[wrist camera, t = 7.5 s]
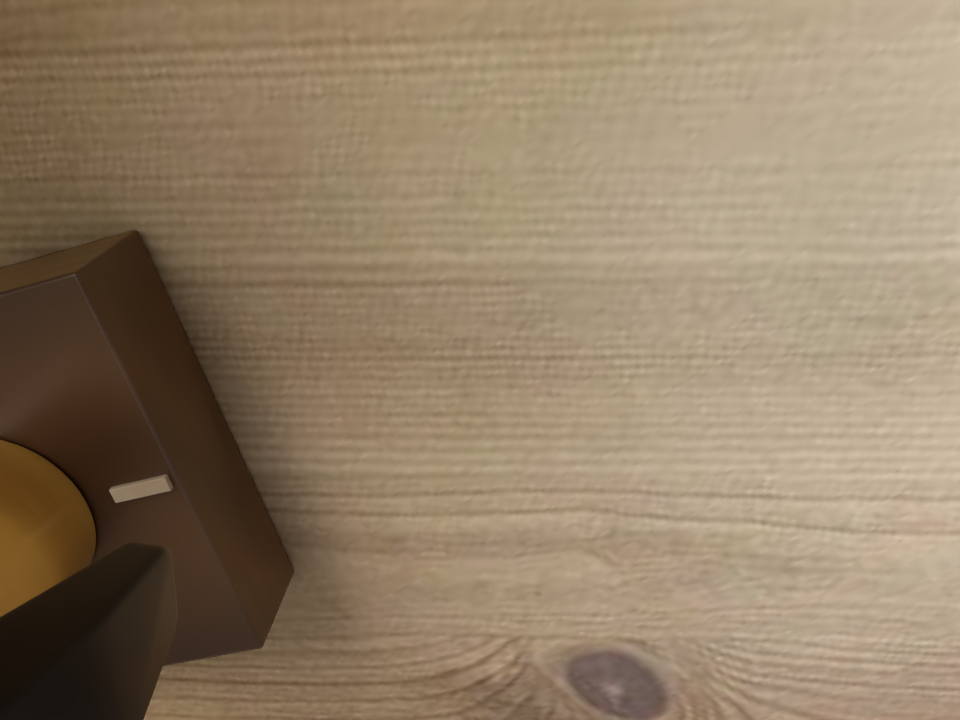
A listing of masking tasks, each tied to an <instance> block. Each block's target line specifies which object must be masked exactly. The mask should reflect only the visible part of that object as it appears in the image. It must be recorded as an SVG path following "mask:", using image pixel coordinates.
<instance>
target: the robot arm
mask: <svg viewBox="0 0 960 720" xmlns="http://www.w3.org/2000/svg"><path fill="white" fill-rule="evenodd" d="M177 616H178V607H177V597H176V586H175V576H174V565H173V557H172V554H171V552H170V550H169V549H167V548H166V547H165V546H159V545H150V544H141V543H128V544H125V545H123V546H121V547H119V548H118V549H116V550H114V551H113V552H111V553H109V554H107V555H106V556H104V557H102V558H101V559H99V560H97V561H95V562H94V563H92V564H90V565H89V566H87V567H85V568H83V569H82V570H80V571H78V572H77V573H75V574H73V575H71V576H70V577H68V578H66V579H65V580H63V581H61V582H59V583H58V584H56V585H54V586H53V587H51V588H49V589H47V590H46V591H44V592H42V593H41V594H39V595H37V596H35V597H34V598H32V599H30V600H29V601H27V602H25V603H23V604H22V605H20V606H18V607H17V608H15V609H13V610H11V611H10V612H8V613H6V614H5V615H3V616H1V617H0V720H143V719H144V716H145V714H146V711H147V708H148V705H149V703H150V700H151V697H152V694H153V692H154V689H155V686H156V683H157V680H158V678H159V675H160V672H161V669H162V667H163V664H164V661H165V658H166V656H167V653H168V650H169V647H170V644H171V642H172V639H173V636H174V633H175V629H176V624H177Z"/></svg>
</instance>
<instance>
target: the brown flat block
mask: <svg viewBox="0 0 960 720" xmlns="http://www.w3.org/2000/svg"><path fill="white" fill-rule="evenodd" d="M0 440H4V441H7V442H10V443H14V444H17V445H19V446H22V447H24V448H26V449H29V450H31V451H33V452H34V453H36V454H38V455H40V456H42V457H43V458H45V459H46V460H48V461H49V462H51V463H52V464H53V465H55V466H56V467H57V468H58V469H59V470H61V471H62V472H63V473H64V474H65V475H66V476H67V477H68V478H69V479H70V480H71V481H72V482H73V484H74V485H75V486H76V487H77V489H78V490H79V491H80V493H81V494H82V496H83V498H84V499H85V501H86V503H87V505H88V507H89V509H90V511H91V514H92V517H93V521H94V525H95V531H96V546H95V552H94V556H93V559H92V562H91V564H92V563H94V562H95V561H97V560H99V559H101V558H102V557H104V556H106V555H107V554H109V553H111V552H113V551H114V550H116V549H118V548H119V547H121V546H123V545H125V544H128V543H141V544H150V545H159V546H165V547H166V548H167V549H169V550H170V552H171V554H172V557H173V565H174V576H175V586H176V597H177V607H178V616H177V624H176V629H175V633H174V636H173V639H172V642H171V644H170V647H169V650H168V653H167V656H166V658H165V661H164V664H163V666H167V665H172V664H178V663H183V662H188V661H194V660H199V659H205V658H210V657H216V656H221V655H227V654H232V653H237V652H243V651H248V650H254V649H259V648H262V647H263V645H264V643H265V640H266V638H267V636H268V633H269V631H270V628H271V626H272V624H273V621H274V619H275V616H276V614H277V611H278V609H279V607H280V604H281V602H282V599H283V597H284V595H285V592H286V590H287V587H288V585H289V582H290V580H291V578H292V575H293V573H294V571H293V568H292V566H291V563H290V561H289V559H288V557H287V555H286V553H285V550H284V548H283V546H282V544H281V542H280V539H279V537H278V535H277V533H276V531H275V529H274V526H273V524H272V522H271V520H270V518H269V516H268V513H267V511H266V509H265V507H264V505H263V502H262V500H261V498H260V496H259V494H258V492H257V489H256V487H255V485H254V483H253V481H252V478H251V476H250V474H249V472H248V470H247V468H246V465H245V463H244V461H243V459H242V457H241V455H240V452H239V450H238V448H237V446H236V444H235V441H234V439H233V437H232V435H231V433H230V431H229V428H228V426H227V424H226V422H225V420H224V418H223V415H222V413H221V411H220V409H219V407H218V404H217V402H216V400H215V398H214V396H213V394H212V391H211V389H210V387H209V385H208V383H207V381H206V378H205V376H204V374H203V372H202V370H201V367H200V365H199V363H198V361H197V359H196V357H195V354H194V352H193V350H192V348H191V346H190V344H189V341H188V339H187V337H186V335H185V333H184V330H183V328H182V326H181V324H180V322H179V320H178V317H177V315H176V313H175V311H174V309H173V306H172V304H171V302H170V300H169V298H168V296H167V293H166V291H165V289H164V287H163V285H162V283H161V280H160V278H159V276H158V274H157V272H156V269H155V267H154V265H153V263H152V261H151V259H150V256H149V254H148V252H147V250H146V248H145V246H144V243H143V241H142V239H141V237H140V235H139V232H138V231H135V230H133V231H129V232H126V233H122V234H119V235H115V236H112V237H108V238H105V239H101V240H98V241H94V242H91V243H87V244H84V245H80V246H77V247H73V248H70V249H66V250H63V251H59V252H56V253H52V254H49V255H45V256H42V257H38V258H35V259H31V260H28V261H24V262H21V263H17V264H14V265H10V266H7V267H4V268H0Z"/></svg>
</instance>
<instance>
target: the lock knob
mask: <svg viewBox="0 0 960 720" xmlns="http://www.w3.org/2000/svg"><path fill="white" fill-rule="evenodd" d="M95 546H96V531H95V525H94V521H93V517H92V514H91V511H90V509H89V507H88V505H87V503H86V501H85V499H84V498H83V496H82V494H81V493H80V491H79V490H78V489H77V487H76V486H75V485H74V484H73V482H72V481H71V480H70V479H69V478H68V477H67V476H66V475H65V474H64V473H63V472H62V471H61V470H59V469H58V468H57V467H56V466H55V465H53V464H52V463H51V462H49V461H48V460H46V459H45V458H43V457H42V456H40V455H38V454H36V453H34V452H33V451H31V450H29V449H26V448H24V447H22V446H19V445H17V444H14V443H10V442H7V441H4V440H0V617H1V616H3V615H5V614H6V613H8V612H10V611H11V610H13V609H15V608H17V607H18V606H20V605H22V604H23V603H25V602H27V601H29V600H30V599H32V598H34V597H35V596H37V595H39V594H41V593H42V592H44V591H46V590H47V589H49V588H51V587H53V586H54V585H56V584H58V583H59V582H61V581H63V580H65V579H66V578H68V577H70V576H71V575H73V574H75V573H77V572H78V571H80V570H82V569H83V568H85V567H87V566H89V565H90V564H91V562H92V559H93V556H94V552H95Z"/></svg>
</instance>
